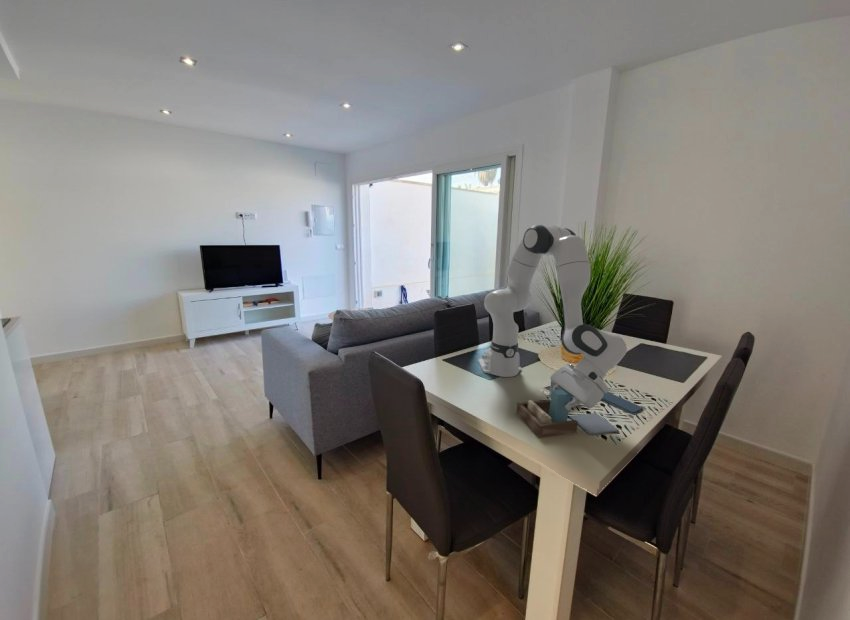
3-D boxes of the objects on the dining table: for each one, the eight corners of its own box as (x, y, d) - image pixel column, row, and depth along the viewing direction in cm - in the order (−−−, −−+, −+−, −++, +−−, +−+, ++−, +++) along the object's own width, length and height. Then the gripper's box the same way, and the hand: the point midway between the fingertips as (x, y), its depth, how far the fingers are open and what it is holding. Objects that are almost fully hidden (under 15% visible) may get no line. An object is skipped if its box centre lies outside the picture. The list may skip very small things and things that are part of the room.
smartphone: (633, 413, 126) (595, 394, 138) (632, 417, 126) (594, 398, 138) (644, 407, 130) (606, 390, 142) (643, 411, 130) (605, 394, 142)
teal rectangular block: (548, 419, 121) (551, 390, 119) (560, 417, 123) (564, 389, 120) (554, 424, 118) (557, 395, 116) (567, 423, 119) (570, 393, 117)
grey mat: (568, 417, 123) (569, 415, 123) (595, 414, 125) (596, 413, 125) (589, 435, 113) (590, 433, 112) (618, 431, 115) (618, 429, 115)
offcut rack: (516, 413, 125) (517, 402, 124) (550, 409, 128) (551, 399, 127) (538, 437, 110) (540, 426, 110) (576, 432, 114) (578, 421, 113)
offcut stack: (526, 417, 123) (528, 400, 121) (535, 416, 123) (537, 399, 122) (540, 431, 114) (542, 413, 113) (550, 430, 115) (552, 412, 113)
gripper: (563, 357, 127) (536, 383, 127) (603, 380, 108) (571, 411, 108) (572, 367, 129) (546, 393, 129) (613, 392, 110) (582, 423, 110)
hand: (558, 402), depth 119 cm, fingers open, 7 cm apart
